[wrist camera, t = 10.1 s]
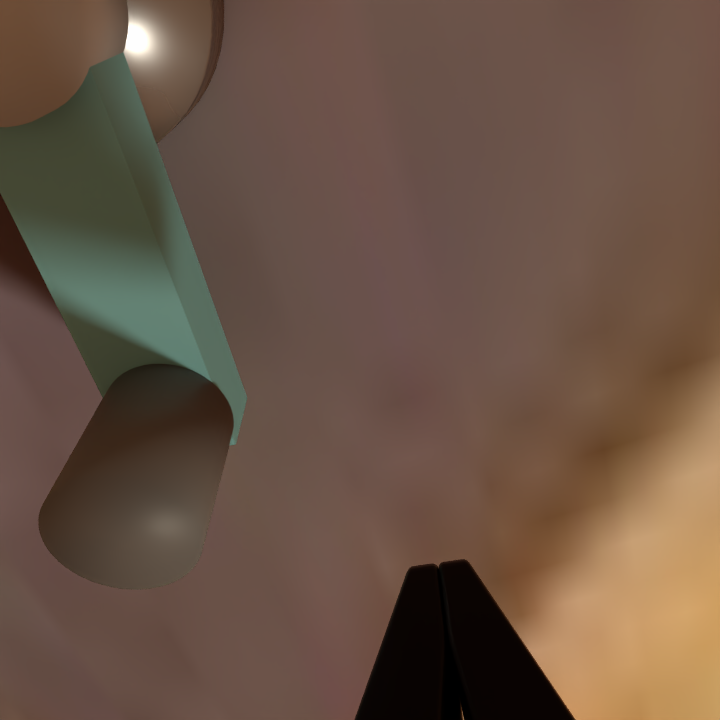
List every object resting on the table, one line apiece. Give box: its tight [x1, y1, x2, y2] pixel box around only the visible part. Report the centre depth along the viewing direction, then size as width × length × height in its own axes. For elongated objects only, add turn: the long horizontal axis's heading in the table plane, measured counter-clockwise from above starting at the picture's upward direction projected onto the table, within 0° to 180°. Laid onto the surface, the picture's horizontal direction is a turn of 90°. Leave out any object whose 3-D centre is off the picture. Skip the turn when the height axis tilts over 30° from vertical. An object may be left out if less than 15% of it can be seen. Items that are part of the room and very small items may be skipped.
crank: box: [0, 0, 247, 589], centre depth 11 cm, size 11×3×5 cm, turn 11°
